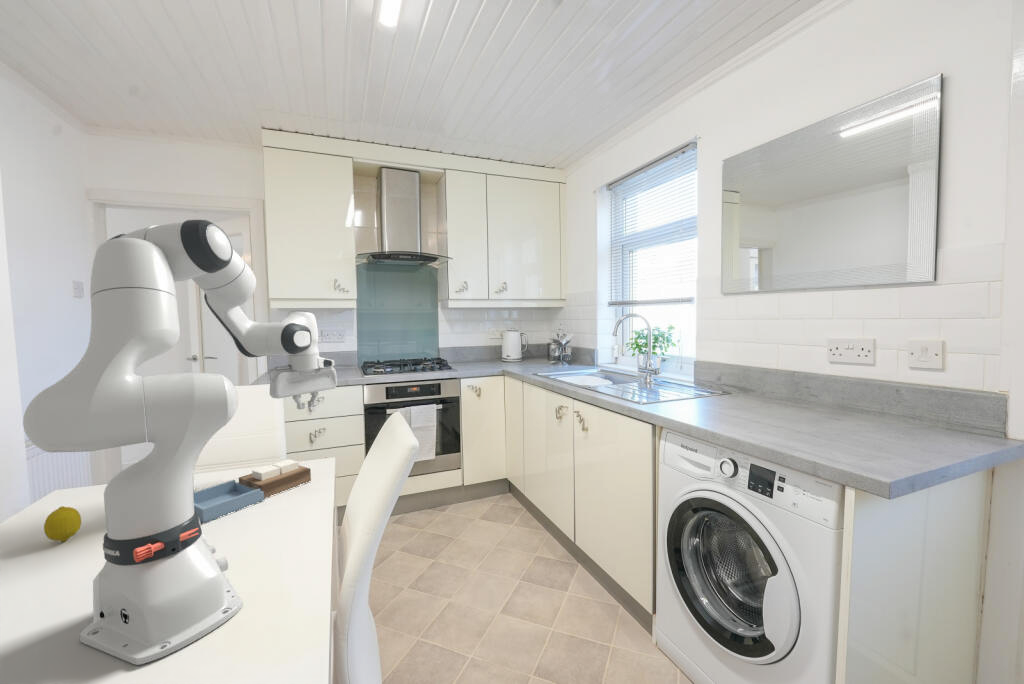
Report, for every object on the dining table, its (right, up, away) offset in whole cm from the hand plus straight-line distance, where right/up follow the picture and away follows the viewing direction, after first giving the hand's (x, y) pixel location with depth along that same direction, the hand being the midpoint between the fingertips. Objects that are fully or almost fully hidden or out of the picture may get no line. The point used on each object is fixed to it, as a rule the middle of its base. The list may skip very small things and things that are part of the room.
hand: (306, 407), depth 126 cm
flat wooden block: (-5, -22, -8) cm, 24 cm away
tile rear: (-3, -18, -6) cm, 19 cm away
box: (-12, -23, -20) cm, 32 cm away
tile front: (-6, -18, -10) cm, 21 cm away
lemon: (-36, -24, -36) cm, 56 cm away
